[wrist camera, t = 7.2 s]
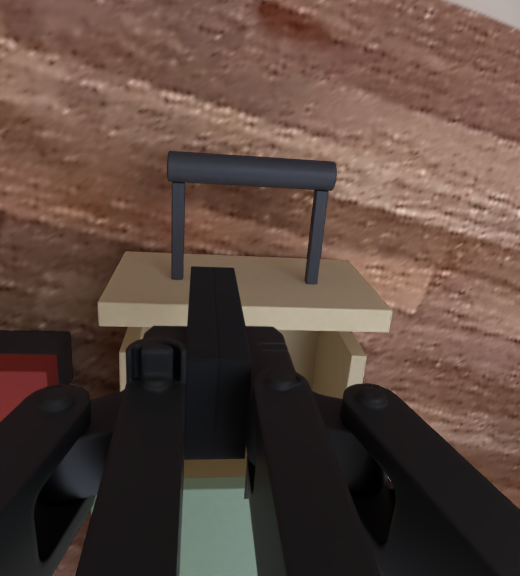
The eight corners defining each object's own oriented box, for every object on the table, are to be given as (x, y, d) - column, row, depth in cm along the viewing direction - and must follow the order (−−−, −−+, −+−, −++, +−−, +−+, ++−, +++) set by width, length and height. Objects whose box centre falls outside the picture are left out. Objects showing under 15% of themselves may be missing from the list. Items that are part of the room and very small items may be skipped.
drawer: (122, 139, 26) (89, 154, 19) (363, 156, 28) (418, 174, 21) (130, 452, 34) (109, 549, 26) (320, 450, 35) (350, 541, 28)
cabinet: (121, 383, 33) (89, 491, 24) (334, 385, 35) (379, 486, 26) (127, 556, 38) (102, 697, 29) (310, 549, 40) (340, 681, 31)
